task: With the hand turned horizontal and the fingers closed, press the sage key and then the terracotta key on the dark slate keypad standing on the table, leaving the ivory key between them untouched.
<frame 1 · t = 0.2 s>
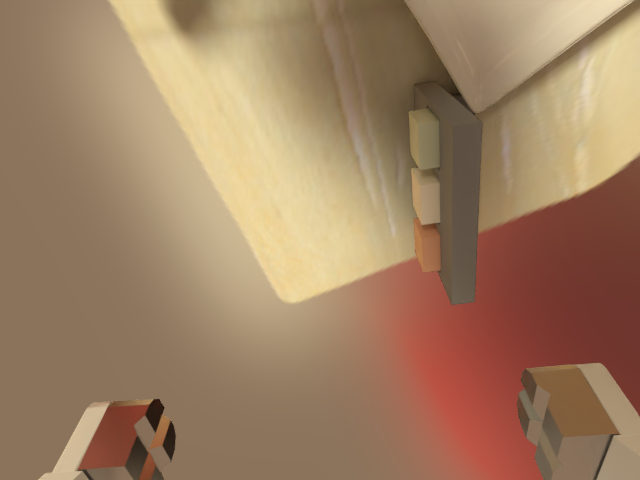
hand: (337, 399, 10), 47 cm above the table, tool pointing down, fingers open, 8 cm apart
key ivory: (434, 193, 49), point 10 cm above the table, slide at 0.0 cm
key terracotta: (435, 242, 52), point 10 cm above the table, slide at 0.0 cm
keyguard: (424, 161, 57), on the table
key sage: (433, 137, 46), point 10 cm above the table, slide at 0.0 cm
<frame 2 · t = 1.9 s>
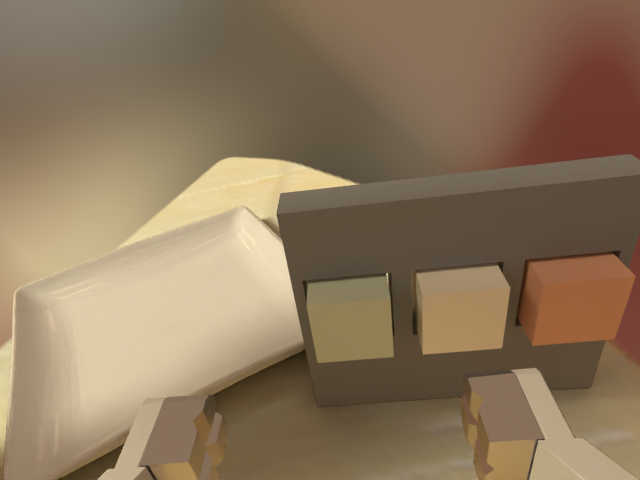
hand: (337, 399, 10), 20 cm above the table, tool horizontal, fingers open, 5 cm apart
key ivory: (455, 300, 27), point 9 cm above the table, slide at 0.0 cm
square plate: (177, 326, 44), on the table, touching keyguard
key terracotta: (564, 290, 27), point 9 cm above the table, slide at 0.0 cm
keyguard: (447, 386, 33), on the table
key sage: (350, 310, 28), point 9 cm above the table, slide at 0.0 cm
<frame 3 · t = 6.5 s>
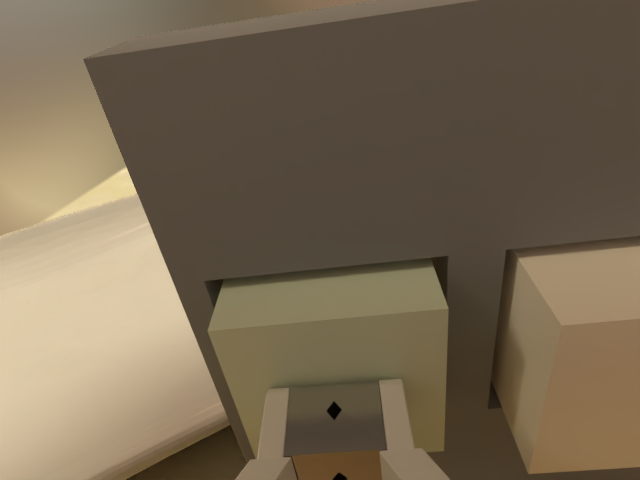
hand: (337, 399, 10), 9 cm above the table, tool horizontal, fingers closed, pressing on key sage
key ivory: (610, 330, 10), point 9 cm above the table, slide at 0.0 cm
square plate: (67, 357, 27), on the table
key sage: (336, 334, 12), point 9 cm above the table, slide at 0.7 cm, touching gripper
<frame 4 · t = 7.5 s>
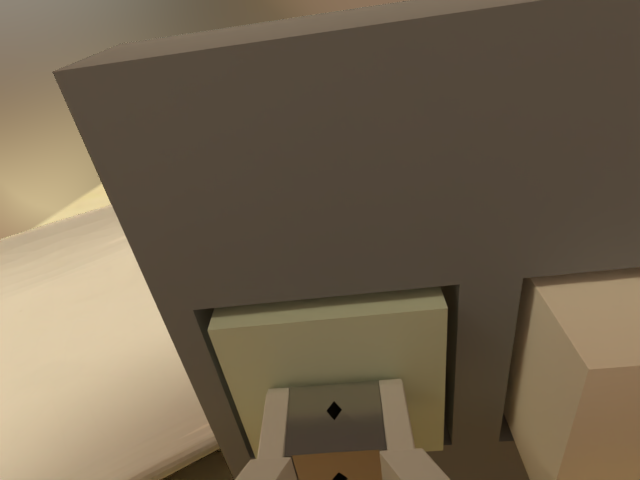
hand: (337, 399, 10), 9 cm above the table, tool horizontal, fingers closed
key ivory: (634, 362, 10), point 9 cm above the table, slide at 0.0 cm
square plate: (59, 368, 26), on the table
key sage: (336, 333, 12), point 9 cm above the table, slide at 1.7 cm
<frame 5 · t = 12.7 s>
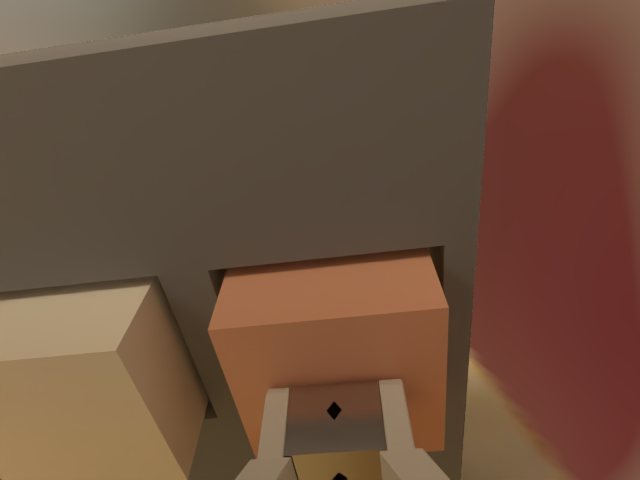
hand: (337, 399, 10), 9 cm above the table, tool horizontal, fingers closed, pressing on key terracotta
key ivory: (95, 364, 12), point 9 cm above the table, slide at 0.0 cm
key terracotta: (336, 333, 12), point 10 cm above the table, slide at 0.3 cm, touching gripper
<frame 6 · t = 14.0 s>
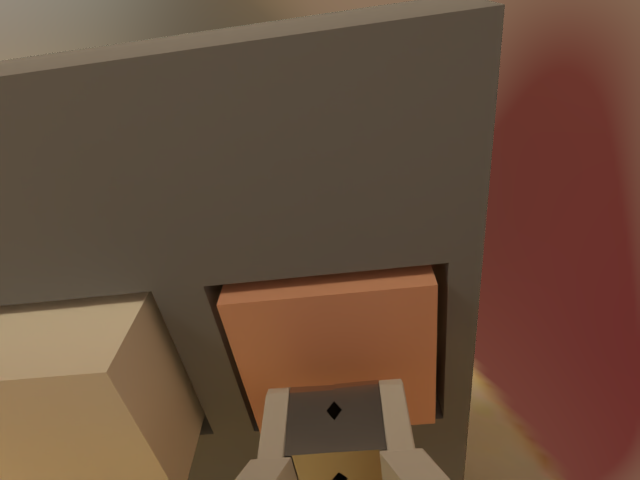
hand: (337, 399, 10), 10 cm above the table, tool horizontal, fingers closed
key ivory: (87, 379, 11), point 10 cm above the table, slide at 0.0 cm
key terracotta: (335, 314, 12), point 10 cm above the table, slide at 1.7 cm
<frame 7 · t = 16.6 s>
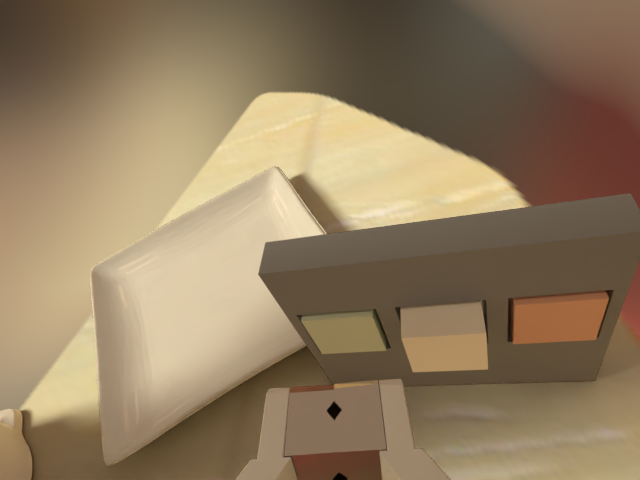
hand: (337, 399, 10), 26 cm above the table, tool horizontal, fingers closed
key ivory: (443, 325, 28), point 10 cm above the table, slide at 0.0 cm
square plate: (224, 299, 49), on the table
key terracotta: (548, 295, 28), point 9 cm above the table, slide at 1.7 cm
keyguard: (453, 373, 36), on the table
key sage: (346, 311, 31), point 9 cm above the table, slide at 1.7 cm
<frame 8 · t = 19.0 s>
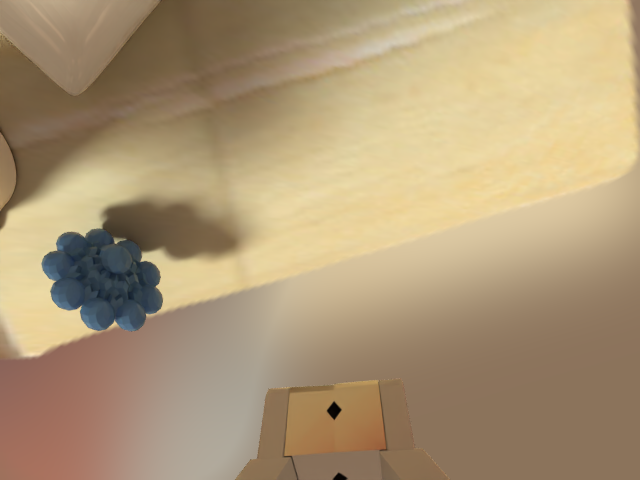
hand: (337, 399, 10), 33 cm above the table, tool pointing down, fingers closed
grapes: (134, 237, 47), on the table
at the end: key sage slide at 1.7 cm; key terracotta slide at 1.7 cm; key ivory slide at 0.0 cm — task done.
